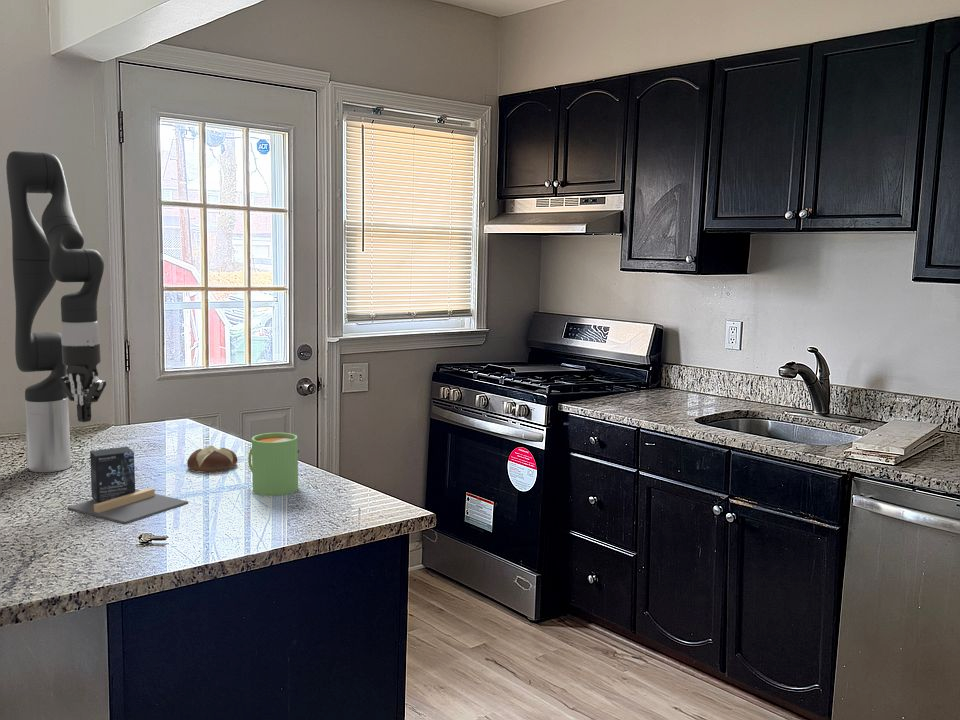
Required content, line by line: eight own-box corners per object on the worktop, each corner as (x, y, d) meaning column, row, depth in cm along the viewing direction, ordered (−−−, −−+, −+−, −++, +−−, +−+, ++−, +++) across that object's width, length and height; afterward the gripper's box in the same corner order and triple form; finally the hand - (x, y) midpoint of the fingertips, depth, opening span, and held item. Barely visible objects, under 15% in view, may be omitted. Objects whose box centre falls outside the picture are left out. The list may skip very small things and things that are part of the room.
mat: (67, 508, 180) (66, 500, 180) (131, 490, 194) (131, 482, 194) (125, 523, 171) (124, 514, 171) (188, 503, 185) (187, 494, 185)
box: (97, 504, 182) (95, 455, 180) (91, 498, 186) (89, 450, 185) (136, 498, 187) (134, 450, 185) (129, 492, 191) (127, 445, 190)
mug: (308, 486, 199) (307, 435, 198) (279, 498, 190) (278, 444, 188) (264, 479, 205) (263, 429, 203) (234, 490, 195) (233, 438, 194)
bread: (179, 470, 212) (179, 450, 211) (211, 460, 222) (211, 441, 221) (215, 476, 207) (215, 456, 207) (246, 465, 218) (246, 446, 217)
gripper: (45, 341, 186) (49, 420, 188) (85, 346, 180) (89, 428, 182) (76, 338, 192) (80, 415, 195) (116, 342, 186) (119, 421, 188)
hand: (84, 421), depth 188 cm, fingers closed
